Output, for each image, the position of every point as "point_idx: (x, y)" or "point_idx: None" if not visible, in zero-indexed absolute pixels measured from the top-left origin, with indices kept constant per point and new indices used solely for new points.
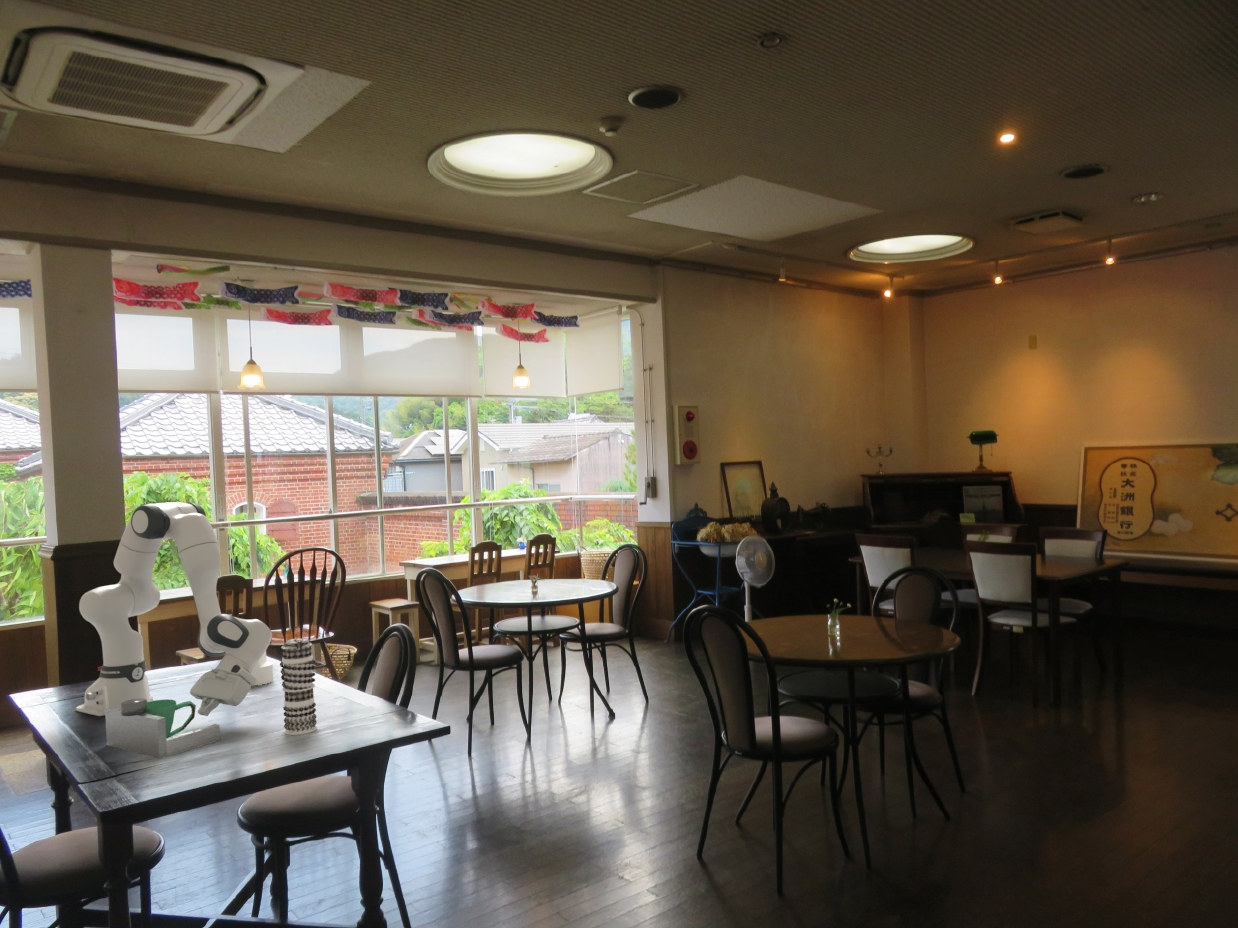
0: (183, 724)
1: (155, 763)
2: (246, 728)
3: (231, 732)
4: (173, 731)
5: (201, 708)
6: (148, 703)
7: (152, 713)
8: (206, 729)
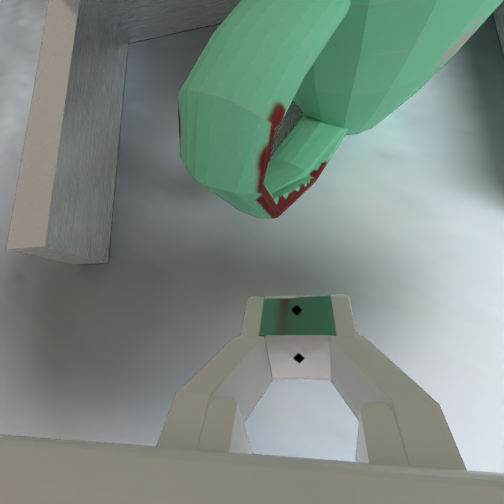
0: (285, 165)
1: None
2: None
3: (120, 369)
4: (305, 131)
5: (319, 319)
6: None
7: None
8: (23, 171)
